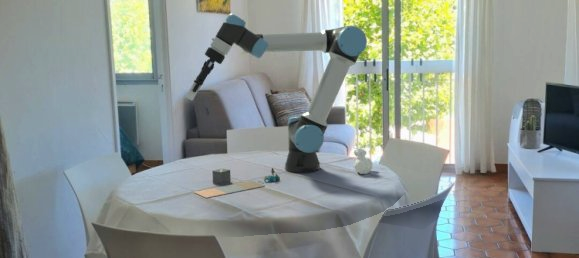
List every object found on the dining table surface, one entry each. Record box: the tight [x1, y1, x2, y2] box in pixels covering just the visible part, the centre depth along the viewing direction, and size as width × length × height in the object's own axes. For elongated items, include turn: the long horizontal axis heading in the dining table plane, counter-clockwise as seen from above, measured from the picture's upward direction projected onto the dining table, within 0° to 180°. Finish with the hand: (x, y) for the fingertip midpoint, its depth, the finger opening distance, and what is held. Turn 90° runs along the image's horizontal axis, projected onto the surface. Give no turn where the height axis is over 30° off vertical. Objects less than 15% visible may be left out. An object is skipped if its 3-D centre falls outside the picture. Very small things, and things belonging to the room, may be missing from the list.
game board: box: [193, 180, 266, 199], centre depth 216 cm, size 26×10×1 cm, turn 126°
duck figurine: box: [353, 147, 373, 175], centre depth 238 cm, size 12×8×11 cm
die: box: [212, 168, 232, 185], centre depth 227 cm, size 5×5×5 cm
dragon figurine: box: [258, 167, 281, 185], centre depth 227 cm, size 6×7×8 cm
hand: (189, 97), depth 223 cm, fingers open, 13 cm apart
